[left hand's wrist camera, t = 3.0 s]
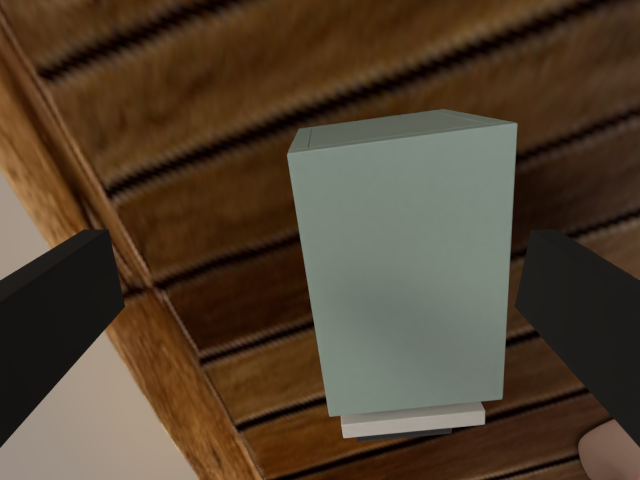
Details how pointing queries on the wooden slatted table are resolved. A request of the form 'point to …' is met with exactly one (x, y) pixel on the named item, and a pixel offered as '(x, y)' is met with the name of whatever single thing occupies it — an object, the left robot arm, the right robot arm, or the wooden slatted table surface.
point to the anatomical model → (609, 453)
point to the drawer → (411, 421)
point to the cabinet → (407, 256)
